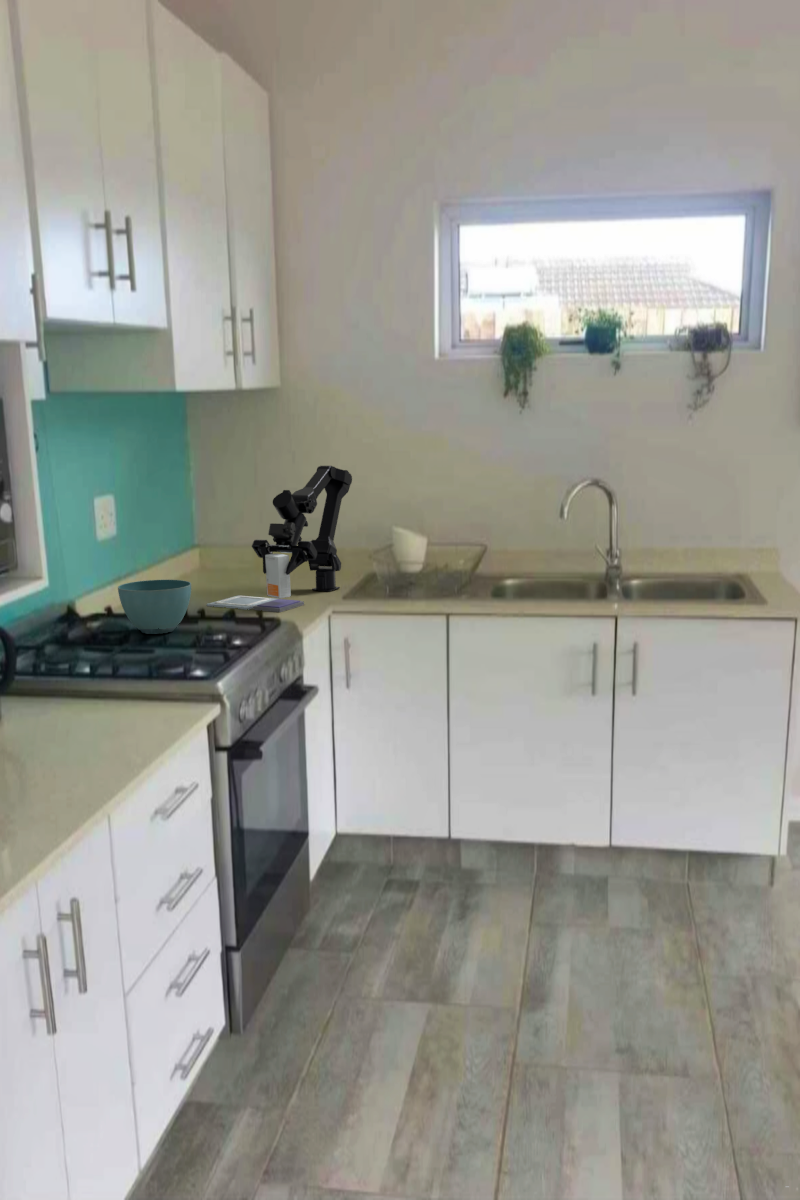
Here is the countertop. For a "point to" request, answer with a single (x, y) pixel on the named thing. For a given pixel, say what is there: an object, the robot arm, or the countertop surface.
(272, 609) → the ink pad
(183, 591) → the teal bowl
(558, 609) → the countertop surface
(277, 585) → the skincare box
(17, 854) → the countertop surface
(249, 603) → the board
